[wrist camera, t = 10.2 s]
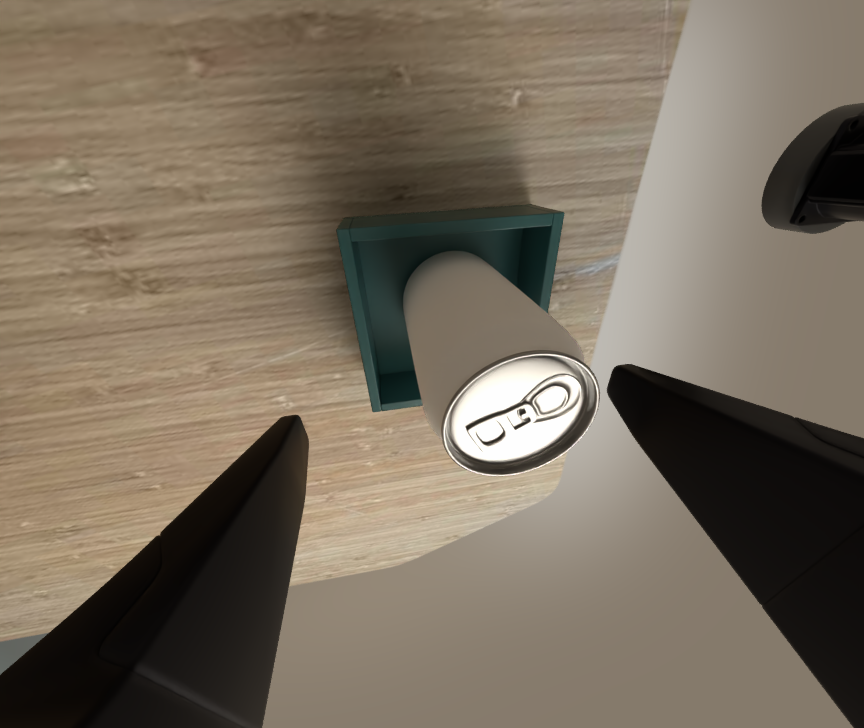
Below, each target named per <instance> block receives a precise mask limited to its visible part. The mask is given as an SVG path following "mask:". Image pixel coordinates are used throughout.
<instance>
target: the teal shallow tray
mask: <svg viewBox="0 0 864 728" xmlns="http://www.w3.org/2000/svg"><path fill="white" fill-rule="evenodd" d="M563 218H564V212H561V211H557V210H553V209H548V208H544V207H540V206H536V205H532V204H528V205H514V206H500V207H486V208H472V209H458V210H444V211H430V212H417V213H403V214H389V215H375V216H361V217H347V218H343V220H342V222H341V223H340V225H339V226H338V228H337V230H336V232H337V237H338V242H339V247H340V251H341V256H342V261H343V266H344V271H345V276H346V281H347V286H348V291H349V296H350V301H351V306H352V311H353V316H354V321H355V326H356V331H357V336H358V341H359V346H360V351H361V356H362V361H363V366H364V371H365V376H366V381H367V386H368V391H369V396H370V401H371V406H372V411H373V412H379V411H381V410H382V411H387V410H394V409H401V408H408V407H416V406H423V404H422V400H421V395H420V391H419V386H418V381H417V377H416V372H415V367H414V362H413V357H412V352H411V347H410V342H409V337H408V332H407V327H406V322H405V316H404V310H403V295H404V290H405V287H406V284H407V282H408V279H409V278H410V276H411V274H412V273H413V272H414V270H415V269H416V268H417V267H418V266H419V265H420V264H421V263H422V262H424V261H425V260H426V259H428V258H430V257H432V256H434V255H436V254H439V253H442V252H446V251H464V252H468V253H472V254H474V255H476V256H478V257H480V258H481V259H483V260H484V261H485V262H487V263H488V264H489V265H490V266H492V267H493V268H494V269H495V270H496V271H498V272H499V273H500V274H501V275H502V276H504V277H505V278H506V279H507V280H509V281H510V282H511V283H512V284H513V285H515V286H516V287H517V288H518V289H519V290H520V291H522V292H523V293H524V294H525V295H526V296H528V297H529V298H530V299H531V300H532V301H534V302H535V303H536V304H537V305H538V306H539V307H541V308H542V309H543V310H544V311H545V312H547V313H548V307H549V302H550V296H551V290H552V284H553V278H554V272H555V266H556V260H557V254H558V248H559V242H560V236H561V230H562V224H563Z"/></svg>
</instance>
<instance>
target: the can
mask: <svg viewBox="0 0 864 728" xmlns="http://www.w3.org/2000/svg"><path fill="white" fill-rule="evenodd" d="M403 310H404V316H405V322H406V327H407V332H408V337H409V342H410V347H411V352H412V357H413V362H414V367H415V372H416V377H417V381H418V386H419V391H420V395H421V400H422V404H423V408H424V412H425V415H426V418H427V420H428V423H429V425H430V426H431V428H432V430H433V431H434V432H435V433H436V435H437V436H438V437H439V438H440V439H441V440H442V441H443V445H444V447H445V450H446V452H447V453H448V455H449V456H450V457H451V459H452V460H453V461H454V462H456V463H457V464H458V465H459V466H461V467H462V468H464V469H466V470H468V471H471V472H474V473H477V474H481V475H487V476H508V475H515V474H520V473H524V472H528V471H531V470H534V469H537V468H539V467H541V466H544V465H546V464H548V463H550V462H552V461H553V460H555V459H557V458H558V457H560V456H561V455H563V454H564V453H565V452H567V451H568V450H569V449H571V448H572V447H573V446H574V445H575V444H576V443H577V442H578V441H579V440H580V439H581V437H583V435H584V434H585V433H586V432H587V430H588V429H589V427H590V425H591V424H592V422H593V420H594V418H595V416H596V413H597V410H598V406H599V400H600V391H599V385H598V382H597V379H596V377H595V375H594V373H593V372H592V371H591V369H590V368H589V367H588V366H587V365H586V362H585V358H584V355H583V353H582V350H581V348H580V346H579V344H578V343H577V342H576V340H575V339H574V338H573V337H572V335H571V334H570V333H569V332H568V331H567V330H566V329H565V328H564V327H563V326H561V325H560V324H559V323H558V322H557V321H556V320H555V319H553V318H552V317H551V316H550V315H549V314H548V313H547V312H545V311H544V310H543V309H542V308H541V307H539V306H538V305H537V304H536V303H535V302H534V301H532V300H531V299H530V298H529V297H528V296H526V295H525V294H524V293H523V292H522V291H520V290H519V289H518V288H517V287H516V286H515V285H513V284H512V283H511V282H510V281H509V280H507V279H506V278H505V277H504V276H502V275H501V274H500V273H499V272H498V271H496V270H495V269H494V268H493V267H492V266H490V265H489V264H488V263H487V262H485V261H484V260H483V259H481V258H480V257H478V256H476V255H474V254H472V253H468V252H464V251H446V252H442V253H439V254H436V255H434V256H432V257H430V258H428V259H426V260H425V261H424V262H422V263H421V264H420V265H419V266H418V267H417V268H416V269H415V270H414V272H413V273H412V274H411V276H410V278H409V279H408V282H407V284H406V287H405V290H404V295H403Z"/></svg>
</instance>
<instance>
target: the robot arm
mask: <svg viewBox="0 0 864 728" xmlns="http://www.w3.org/2000/svg"><path fill="white" fill-rule="evenodd" d="M850 221H864V115H857V116H850V117H848V118H846V119H845V120H844V121H843V122H842V123H841V125H840V127H839V128H838V130H837V132H836V134H835V136H834V138H833V140H832V142H831V143H830V145H829V147H828V149H827V151H826V153H825V155H824V157H823V158H822V160H821V162H820V164H819V166H818V168H817V170H816V172H815V173H814V175H813V177H812V179H811V181H810V183H809V185H808V187H807V188H806V190H805V192H804V194H803V196H802V198H801V200H800V202H799V203H798V205H797V207H796V209H795V211H794V213H793V215H792V217H791V218H790V221H789V224H790V225H794V226H805V225H817V224H828V223H839V222H850ZM607 393H608V396H609V398H610V400H611V401H612V403H613V404H614V406H615V408H616V409H617V411H618V412H619V414H620V416H621V417H622V419H623V421H624V422H625V424H626V425H627V427H628V429H629V430H630V432H631V433H632V435H633V437H634V438H635V440H636V441H637V442H638V444H639V445H640V447H641V448H642V449H643V450H644V452H645V453H646V454H647V456H648V457H649V458H650V460H651V461H652V462H653V464H654V465H655V466H656V468H657V469H658V470H659V471H660V473H661V474H662V475H663V477H664V478H665V479H666V481H667V482H668V483H669V485H670V486H671V487H672V489H673V490H674V491H675V493H676V494H677V495H678V497H679V498H680V499H681V501H682V502H683V503H684V504H685V506H686V507H687V508H688V510H689V511H690V512H691V514H692V515H693V516H694V518H695V519H696V520H697V522H698V523H699V524H700V525H701V527H702V528H703V530H704V531H705V532H706V533H707V535H708V536H709V537H710V539H711V540H712V541H713V543H714V544H715V545H716V547H717V548H718V549H719V550H720V552H721V553H722V554H723V556H724V557H725V558H726V560H727V561H728V562H729V564H730V565H731V566H732V568H733V569H734V570H735V572H736V573H737V574H738V576H739V577H740V578H741V580H742V581H743V582H744V583H745V585H746V586H747V587H748V589H749V590H750V591H751V593H752V594H753V595H754V596H755V598H756V599H757V601H758V602H759V603H760V604H761V605H762V607H763V609H764V610H765V612H766V613H767V614H768V616H769V617H770V618H771V620H772V621H773V622H774V623H775V624H776V626H777V627H778V629H779V630H780V631H781V633H782V634H783V635H784V637H785V638H786V639H787V641H788V642H789V643H790V644H791V646H792V647H793V649H794V650H795V651H796V652H797V653H798V655H799V656H800V658H801V659H802V660H803V661H804V663H805V664H806V666H807V667H808V668H809V670H810V671H811V672H812V673H813V675H814V676H815V678H816V679H817V680H818V682H819V683H820V684H821V685H822V687H823V688H824V689H825V691H826V692H827V693H828V695H829V696H830V697H831V699H832V700H833V701H834V703H835V704H836V705H837V707H838V708H839V709H840V710H841V712H842V713H843V714H844V716H845V717H846V718H847V720H848V721H849V722H850V724H851V725H852V726H853V727H854V728H864V438H861V437H857V436H854V435H851V434H847V433H844V432H841V431H838V430H834V429H831V428H828V427H825V426H822V425H818V424H816V423H812V422H809V421H806V420H803V419H799V418H794V417H792V416H790V415H787V414H784V413H781V412H778V411H775V410H772V409H769V408H766V407H763V406H759V405H756V404H753V403H750V402H747V401H744V400H741V399H738V398H734V397H731V396H728V395H725V394H722V393H719V392H716V391H713V390H710V389H707V388H703V387H700V386H697V385H694V384H691V383H688V382H685V381H682V380H678V379H675V378H672V377H669V376H666V375H663V374H660V373H657V372H654V371H651V370H648V369H644V368H641V367H638V366H635V365H632V364H625V365H618V366H616V367H615V368H614V369H613V371H612V374H611V377H610V380H609V383H608V387H607ZM308 451H309V440H308V436H307V433H306V431H305V428H304V426H303V423H302V420H301V418H300V417H299V416H298V415H290V416H284V417H281V418H280V419H279V420H278V421H277V422H276V423H275V424H274V425H273V426H272V427H270V428H269V429H268V430H267V431H266V432H265V433H264V434H263V435H262V436H261V437H260V438H259V439H258V440H257V441H256V442H255V443H254V444H253V445H252V446H251V447H250V448H248V449H247V450H246V451H245V452H244V453H243V454H242V455H241V456H240V457H239V458H238V459H237V460H236V461H235V462H234V463H233V464H232V465H231V466H230V467H229V468H228V469H226V470H225V471H224V472H223V473H222V474H221V475H220V476H219V477H218V478H217V479H216V480H215V481H214V482H213V483H212V484H211V485H210V486H209V487H208V488H207V489H206V490H204V491H203V492H202V493H201V494H200V495H199V496H198V497H197V498H196V499H195V500H194V501H193V502H192V503H191V504H190V505H189V506H188V507H187V508H186V509H185V510H184V511H182V512H181V513H180V514H179V515H178V516H177V517H176V518H175V519H174V520H173V521H172V522H171V523H170V524H169V525H168V526H167V527H166V528H165V529H164V530H163V531H162V532H161V534H160V536H156V537H155V538H154V539H153V540H152V541H151V542H150V543H149V544H148V545H147V546H146V547H145V548H144V549H142V550H141V551H140V552H139V553H138V554H137V555H136V556H135V557H134V558H133V559H132V560H131V561H130V562H129V563H127V564H126V565H125V566H124V567H123V568H122V569H121V570H120V571H119V572H118V573H117V574H116V575H115V576H113V577H112V578H111V579H110V580H109V581H108V582H107V583H106V584H105V585H104V586H102V587H101V588H100V589H99V590H98V591H97V592H96V593H94V594H93V595H92V596H91V597H90V598H89V599H88V600H86V601H85V602H84V603H83V604H82V605H81V606H80V607H78V608H77V609H76V610H75V611H74V612H73V613H72V614H71V615H69V616H68V617H67V618H66V619H65V620H64V621H62V622H61V623H60V624H59V625H58V626H57V627H55V628H54V629H53V630H52V631H51V632H50V633H48V634H47V635H46V636H45V637H44V638H43V639H42V640H40V641H39V642H38V643H37V644H36V645H35V646H33V647H32V648H31V649H30V650H29V651H28V652H26V653H25V654H24V655H23V656H22V657H21V658H19V659H18V660H17V661H16V662H15V663H14V664H13V665H11V666H10V667H9V668H8V669H7V670H5V671H4V672H3V673H2V674H1V675H0V728H262V725H263V720H264V715H265V709H266V704H267V699H268V694H269V688H270V683H271V678H272V672H273V667H274V662H275V657H276V651H277V646H278V641H279V635H280V630H281V625H282V619H283V614H284V609H285V604H286V598H287V593H288V588H289V582H290V577H291V572H292V567H293V561H294V556H295V551H296V545H297V540H298V535H299V529H300V524H301V519H302V514H303V508H304V502H305V494H306V480H307V466H308Z"/></svg>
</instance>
